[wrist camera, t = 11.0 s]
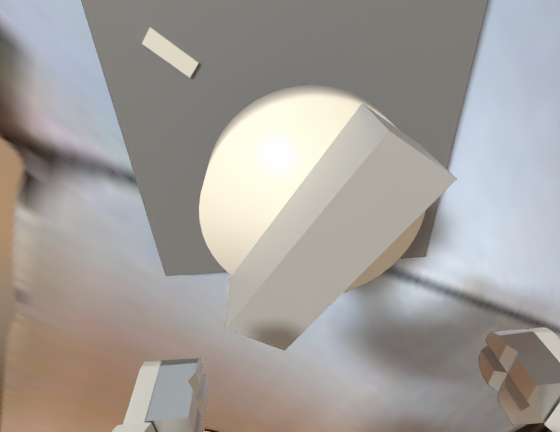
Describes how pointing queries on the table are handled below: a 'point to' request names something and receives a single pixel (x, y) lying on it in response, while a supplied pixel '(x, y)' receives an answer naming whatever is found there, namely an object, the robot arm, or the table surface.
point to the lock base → (269, 84)
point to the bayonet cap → (310, 205)
